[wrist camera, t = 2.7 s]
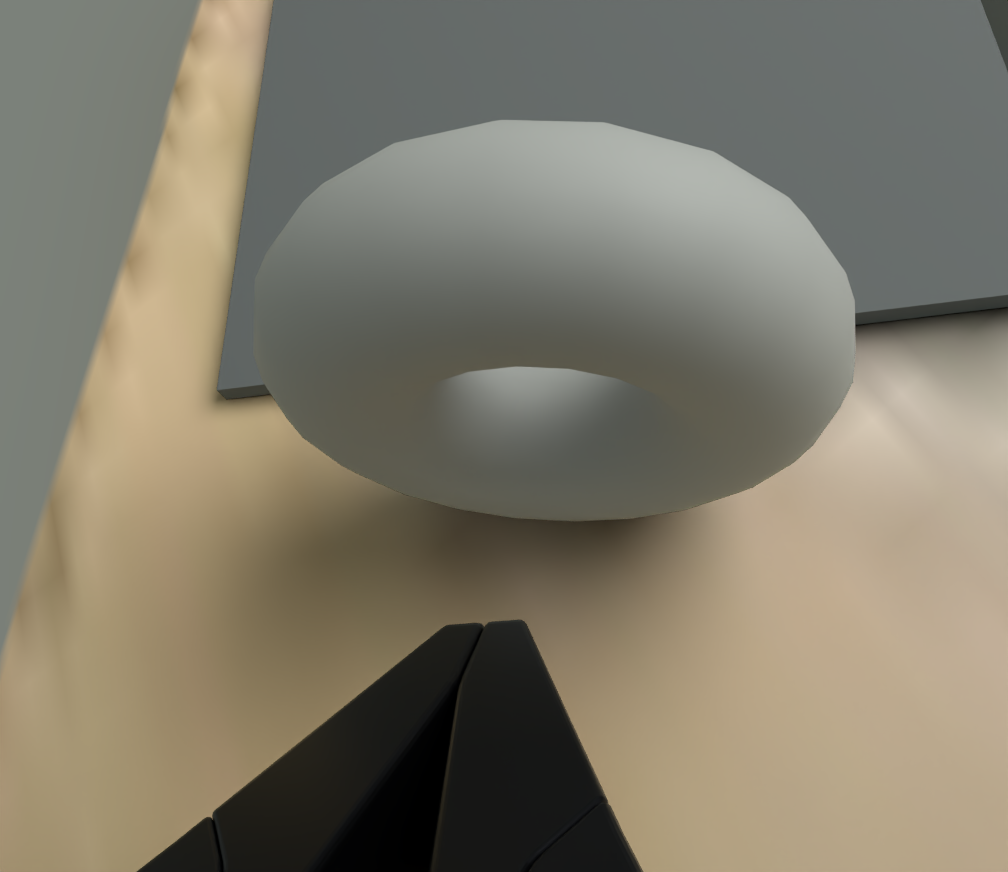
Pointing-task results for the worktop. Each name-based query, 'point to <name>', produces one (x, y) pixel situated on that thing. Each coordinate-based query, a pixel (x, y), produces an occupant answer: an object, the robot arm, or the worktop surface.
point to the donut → (554, 322)
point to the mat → (668, 119)
